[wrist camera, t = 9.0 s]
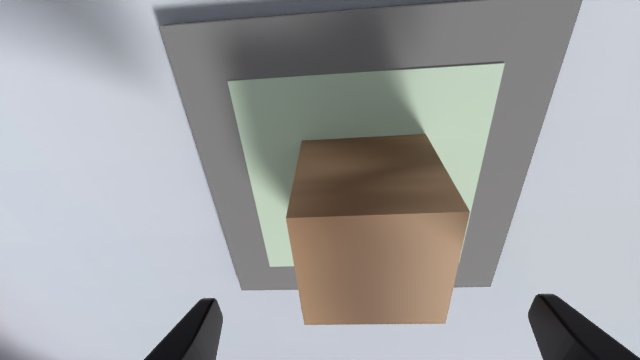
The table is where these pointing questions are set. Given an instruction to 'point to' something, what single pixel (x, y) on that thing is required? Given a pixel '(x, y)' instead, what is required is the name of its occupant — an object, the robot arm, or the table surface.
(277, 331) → the table surface
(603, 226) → the table surface
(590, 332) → the robot arm
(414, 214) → the cube
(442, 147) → the mat
